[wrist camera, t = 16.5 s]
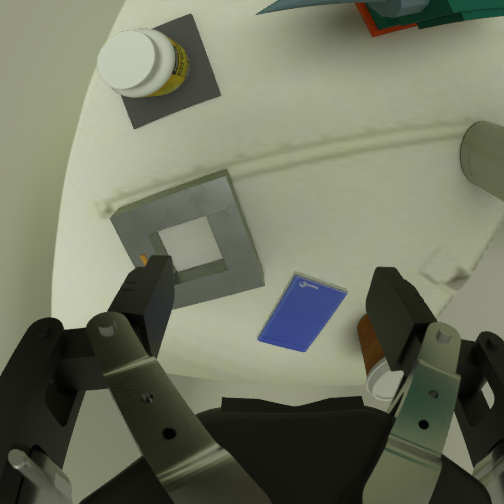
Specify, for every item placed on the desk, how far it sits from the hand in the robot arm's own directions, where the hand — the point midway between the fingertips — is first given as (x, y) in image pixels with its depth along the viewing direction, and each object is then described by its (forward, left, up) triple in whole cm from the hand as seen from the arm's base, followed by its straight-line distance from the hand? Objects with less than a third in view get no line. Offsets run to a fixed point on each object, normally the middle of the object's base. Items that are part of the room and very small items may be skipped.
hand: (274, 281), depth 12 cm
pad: (+6, -12, -24) cm, 28 cm away
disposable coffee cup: (-11, +30, -24) cm, 40 cm away
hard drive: (0, +23, -25) cm, 34 cm away
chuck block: (+10, +8, -24) cm, 27 cm away
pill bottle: (+6, -13, -24) cm, 27 cm away
